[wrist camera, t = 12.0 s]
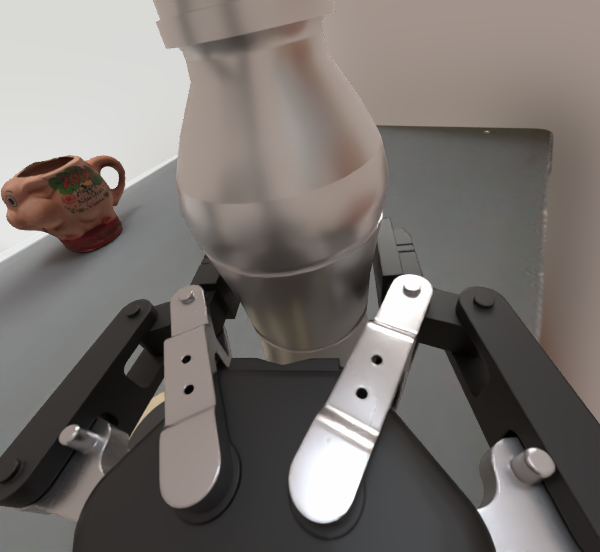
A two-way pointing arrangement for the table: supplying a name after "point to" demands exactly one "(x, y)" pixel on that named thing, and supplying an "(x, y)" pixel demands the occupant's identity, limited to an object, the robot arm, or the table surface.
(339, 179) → the silver bottle
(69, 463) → the robot arm
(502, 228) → the table surface
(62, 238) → the animal head mug
